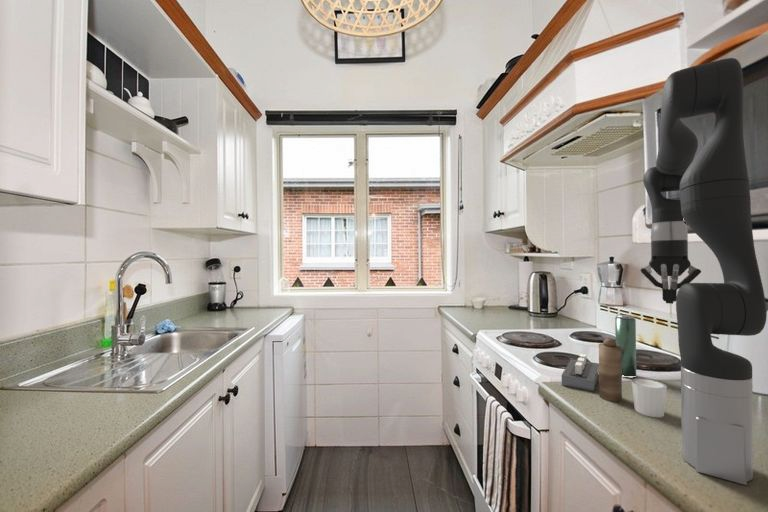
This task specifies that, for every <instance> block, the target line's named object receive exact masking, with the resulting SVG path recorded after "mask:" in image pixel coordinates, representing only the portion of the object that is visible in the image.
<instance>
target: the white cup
mask: <svg viewBox="0 0 768 512" xmlns="http://www.w3.org/2000/svg"><path fill="white" fill-rule="evenodd" d="M630 382H631V388H632V389H631V390H632V399H633V405H634V406H633V407H634V410H635V411H636V412H637V413H639V414H641V415H644V416H647V417H652V418H663V417H664V416H665V411H666V410H665V409H666V402H667V401H666V399H667V392H668V386H667V385H666V384H665V383H662V382H660V381H657V380H653V379H649V378H631V381H630Z"/></svg>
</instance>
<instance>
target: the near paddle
mask: <svg viewBox="0 0 768 512" xmlns="http://www.w3.org/2000/svg"><path fill="white" fill-rule="evenodd" d="M582 372H583V363H580V362H576V364H575V373H576V374H582Z"/></svg>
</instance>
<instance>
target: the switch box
mask: <svg viewBox="0 0 768 512" xmlns="http://www.w3.org/2000/svg"><path fill="white" fill-rule="evenodd" d="M577 360H578V359H572V358H570V359H569V361H568V362H567V365H566V366H565V368H564V370H563V372H562V374H561V386H562V387H563V386H564V387H567V388H568V387H569V388H573V389H579V390H585V391H589V392H594V391H595V388H596V385H597V381H598V378H599V375H598V373H599V362H592V361H587V363H586V365H585V367H584V370H583V372H582V374H576V373H575V364H576V362H577ZM597 377H598V378H597Z"/></svg>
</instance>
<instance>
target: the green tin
mask: <svg viewBox="0 0 768 512" xmlns="http://www.w3.org/2000/svg"><path fill="white" fill-rule="evenodd" d="M615 316H616V317H614V320H615V321H614V322H615V324H614V325H615V328H614V329H615V331H614V332H615V336H614V337H615V341H616V344H617V345H619V346H621V367H622V375H624V376H636V377H637V336H636V335H637V332H636V330H637V329H636V327H637V326H636V324H637V323H636V318H635V316H634V315H632V314H631V315H630V314H616V315H615Z"/></svg>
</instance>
